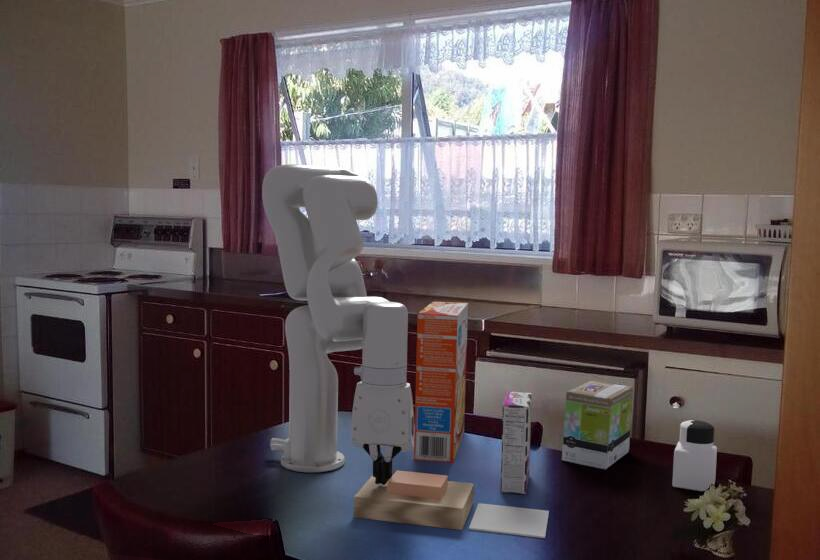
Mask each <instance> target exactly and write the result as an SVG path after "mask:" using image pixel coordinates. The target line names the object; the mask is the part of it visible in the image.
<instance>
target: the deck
mask: <svg viewBox="0 0 820 560" xmlns="http://www.w3.org/2000/svg"><path fill="white" fill-rule="evenodd" d="M392 476H393V474H392ZM388 481H389V480H388ZM474 491H475V483H473V482H472V483H471V482H462V481H461V482H460V481H453V480H448V486H447V489H446V491H445V492H444V494H443V496H442V498H441V499H434V498H425V497H416V496H407V495H399V494H390V493H388V482H387V483H386V484H385V485H382V484H381V483H380V484H375V477H373V474H372V475H371V476H370V478H369V479H368V480H367V481H366V482H365V484H363V485H362V487H361V488H360V489H359V490H358V492H357V493H356V494H355V495H354V496H353V518H355V519H356V518H357V519H364V520H365V519H366V520H374V521H381V522H382V521H384V522H392V523H398V524H408V525H416V526H417V525H418V526H426V527H433V528H434V527H435V528H442V529H451V530H459V531H462V530H463V529H464V526H465V524H466V522H467V519H468V517H469V514H470V512H471V509H472V507H473V505H474V497H475V495H474V494H475V492H474Z"/></svg>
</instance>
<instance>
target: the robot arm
mask: <svg viewBox="0 0 820 560" xmlns="http://www.w3.org/2000/svg"><path fill="white" fill-rule="evenodd" d="M261 187H262V189H261V191H262V193H261V197H262V198H261V199H262V204H263V209H264V212H265V214H266V217H267V220H268V222H269V224H270V226H271V229H272V231H273V233H274V237H275V240H276V243H277V249H278V257H279V262H280V266H281V267H280V268H281V272H282V278H283V283H284V286H285V289H286V293H287V295H288V296H289V297H290V298H291V299H293V300H295V301H301V302H302V301H305V302H306V301H307V304H308V305H307V304H306V305H302V306H298V307H295V308H294V309H292V310H291V311H290V312H289V314H288V315H287V317H286V319H285V323H284V330H285V331H284V332H285V339H286V345H287V352H288V362H289V363H288V364H289V365H288V366H289V399H288V402H289V405H288V406H289V408H288V409H289V411H288V413H289V415H288V418H289V419H288V421H289V422H288V438H286V439H282V438H277V437H271V439H270V442H269V443H270V445H269V446H270V449H271V451H273V452H274V451H275V452H282V453H283V454H282V455H281V456H280V465H281V466H282V467H283V468H285V469H287V470H290V471H293V472H300V473H324V472H329V471H333V470H334V471H335V470H336V469H337V470H338V469H339V468H341V467H343V465H344V464H345V455H344V454H343V453H341V452H340V451H338V414H339V413H338V411H339V410H338V409H339V407H338V406H339V403H338V402H339V400H338V399H339V398H338V397H339V375H338V372H337V369H336V367H335V365H334V364H333V363H332V361H331V360H330V358H329V357H328V354H330V353H334V352H335V353H336V352H346V351H358V350H362V354H361V355H362V356H361V357H362V359H361V360H362V361H361V365H360V366H354V368H353V373H354V375H356V376H357V375H358V376H360V381H359V382H357V383H356V386H355V392H354V397H353V405H352V410H351V411H352V413H351V422H350V423H351V424H350V436H351V440H352V441H351V445H352V446H354V447H356V448H360V449H363V450H364V451H365V452H366V453H367V454H368V455H369V457H370V459H371V461H372V475H373V477H375V484H380V483H381V484H382V485H385V484H386V483H387V482H388V480H389V479H390V478H391V477H392V475H393V460H394V459H395V457H396V456H397V455H399V453H406V452H411V451H414V434H415V409H414V403H413V402H414V400H413V392H412V388H411V383H409V382H407V381H408V379H407V378H408V377H407V376H408V375H407V371H408V336H409V335H408V334H409V333H408V330H409V329H408V328H409V323H408V322H409V313H408V308H407V307H406V305H404V304H402V303H401V302H397V301H390V300H388V299H386V298H384V297H381V296H368V295H367V289H366V285H365V281H364V275H363V272H362V268H361V267H360V265H359V263H358V261H357V260H356V259H355V258H356V257H358V256H359V255H360V254H361V252H363V248H364V239H363V236H362V233H361V230H360V227H359V223H358V221H366V220H369V219H371V218H372V217H373V216H374V215H375V214H376V211H377V209H378V203H379V202H378V194H377V191H376V188H375V186H374V184H373V183H372V182H371V181H370V180H369V179H368V178H367V177H366V176H363V175H361V174H358V173H355V172H353V171H351V170H348V169H346V168H343V167H338V166H326V165H325V166H323V165H310V164H293V163H292V164H291V163H290V164H282V165H281V164H280V165H277V166H275V167H272V168H270V169H269V170H268V171H267V172H266V173H265V175H264V178H263V180H262V186H261ZM300 208H305V211H306V214H307V215H305V213H303V212H302V211H301V210H300ZM382 446H385V450H384V455H383V451H382Z"/></svg>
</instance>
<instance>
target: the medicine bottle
mask: <svg viewBox="0 0 820 560" xmlns="http://www.w3.org/2000/svg"><path fill="white" fill-rule="evenodd" d="M714 438H715V427H714V426H713V425H712V424H710V423H708V422H706V421H703V420H694V419H693V420H692V419H690V420H685V421H683V422H681V423H680V424H679V441H678V442H677V444H676V446H675V448H674V451H673V464H672V465H673V466H672V483H671V484H672V487H673V488H679V489H684V490H690V491H691V490H692V491H698V492H703V491H705V490H706V489H708V488H709V486H710V485H711V484H713V485H714V486H715V483H716V476H717V475H716V472H717V470H716V469H717V454H718V453H717V452H718V447H717V446H716V445H714V442H715V441H714V440H715V439H714Z"/></svg>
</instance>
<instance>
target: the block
mask: <svg viewBox="0 0 820 560" xmlns="http://www.w3.org/2000/svg"><path fill="white" fill-rule="evenodd" d="M392 475H393V476H392V477H391V478H390V479H389V481H388V493H390V494H399V495H407V496H416V497H425V498H434V499H441V498H442V496H443V494H444V492H445V491H446V489H447V486H448V481H449V480H448V479H449V475H445V474H436V473H435V474H433V473H426V472H425V473H424V472H418V471H417V472H416V471H407V470H397V469H396V470H395V472H394V473H392Z"/></svg>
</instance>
